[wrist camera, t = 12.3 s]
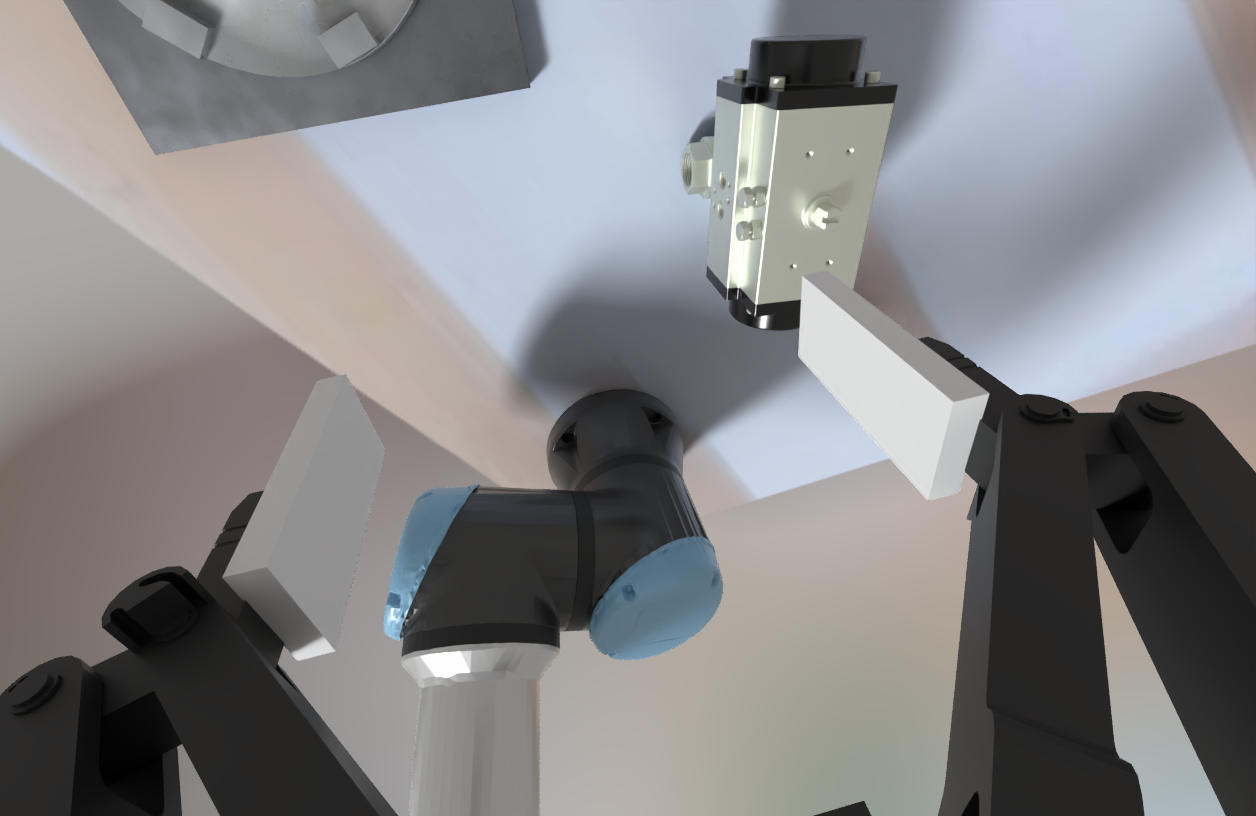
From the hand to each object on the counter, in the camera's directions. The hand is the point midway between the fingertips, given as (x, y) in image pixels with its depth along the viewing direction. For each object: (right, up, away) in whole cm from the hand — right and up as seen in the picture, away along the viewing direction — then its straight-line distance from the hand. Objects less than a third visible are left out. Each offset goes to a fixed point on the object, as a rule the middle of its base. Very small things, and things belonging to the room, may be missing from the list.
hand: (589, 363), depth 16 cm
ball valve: (+9, +20, +32) cm, 39 cm away
